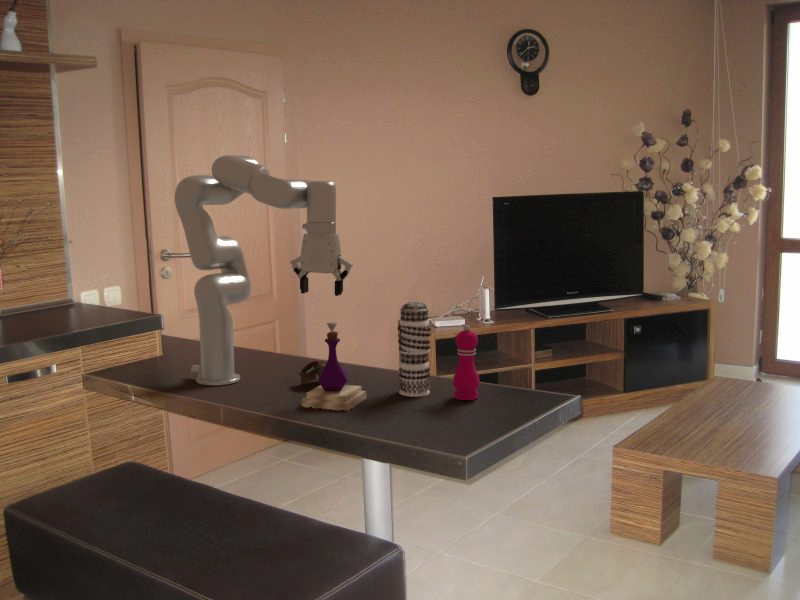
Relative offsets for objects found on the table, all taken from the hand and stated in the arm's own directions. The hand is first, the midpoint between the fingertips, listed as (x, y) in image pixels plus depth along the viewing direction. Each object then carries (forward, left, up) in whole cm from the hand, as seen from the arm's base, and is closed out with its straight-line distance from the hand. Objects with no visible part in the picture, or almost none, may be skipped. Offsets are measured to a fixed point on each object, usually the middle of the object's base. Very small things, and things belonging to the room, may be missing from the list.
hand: (321, 293), depth 205 cm
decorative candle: (+21, +14, -29) cm, 38 cm away
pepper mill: (+36, +13, -29) cm, 48 cm away
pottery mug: (-8, +14, -29) cm, 33 cm away
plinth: (+4, -2, -29) cm, 29 cm away
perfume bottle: (+4, -2, -25) cm, 26 cm away
